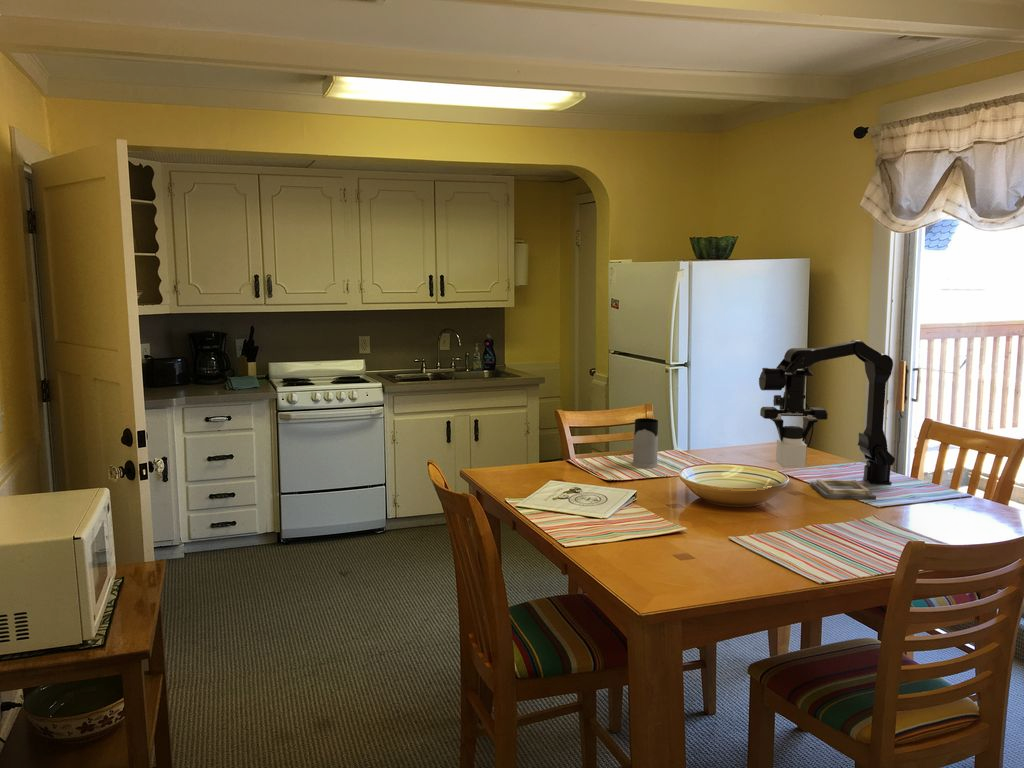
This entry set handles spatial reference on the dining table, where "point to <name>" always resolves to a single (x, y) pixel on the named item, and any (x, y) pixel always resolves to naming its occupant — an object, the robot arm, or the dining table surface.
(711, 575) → the dining table surface
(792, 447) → the medicine bottle
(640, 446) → the glass holder
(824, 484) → the grey square tray
